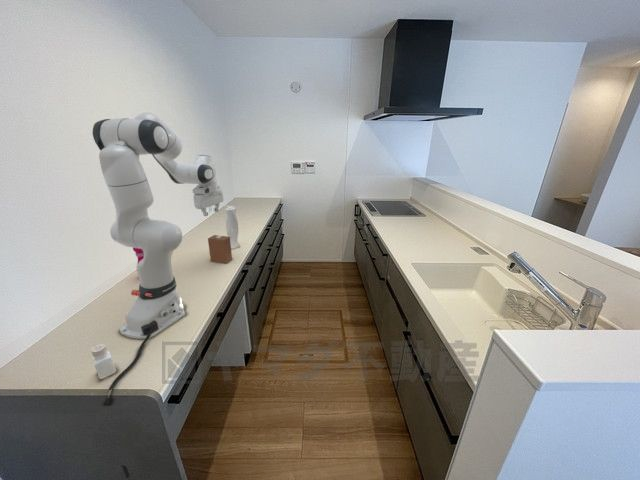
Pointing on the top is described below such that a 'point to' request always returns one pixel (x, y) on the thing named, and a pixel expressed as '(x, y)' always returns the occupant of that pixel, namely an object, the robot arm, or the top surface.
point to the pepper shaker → (103, 361)
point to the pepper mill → (139, 254)
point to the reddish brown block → (220, 249)
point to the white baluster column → (232, 226)
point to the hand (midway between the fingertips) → (211, 213)
